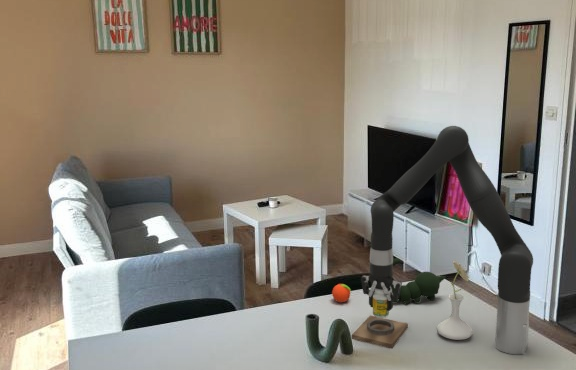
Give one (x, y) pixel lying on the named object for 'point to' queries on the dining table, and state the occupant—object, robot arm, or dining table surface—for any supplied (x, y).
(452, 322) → the flower in vase
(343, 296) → the clementine
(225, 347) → the dining table surface
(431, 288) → the toy figurine
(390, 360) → the dining table surface
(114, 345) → the dining table surface
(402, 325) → the collar board
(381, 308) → the supplement bottle
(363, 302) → the dining table surface
